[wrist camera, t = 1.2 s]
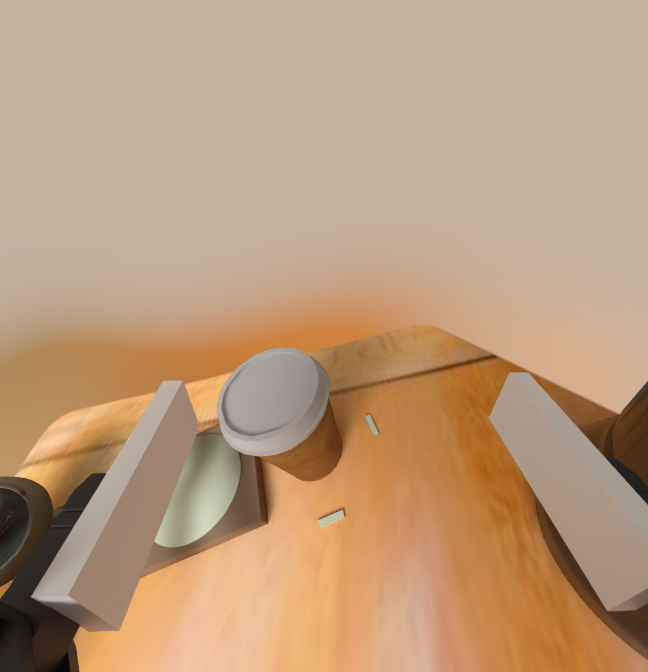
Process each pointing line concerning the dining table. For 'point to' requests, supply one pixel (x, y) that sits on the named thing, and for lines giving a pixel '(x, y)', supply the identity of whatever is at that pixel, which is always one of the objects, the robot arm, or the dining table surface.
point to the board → (209, 501)
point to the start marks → (340, 514)
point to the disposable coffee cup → (282, 413)
